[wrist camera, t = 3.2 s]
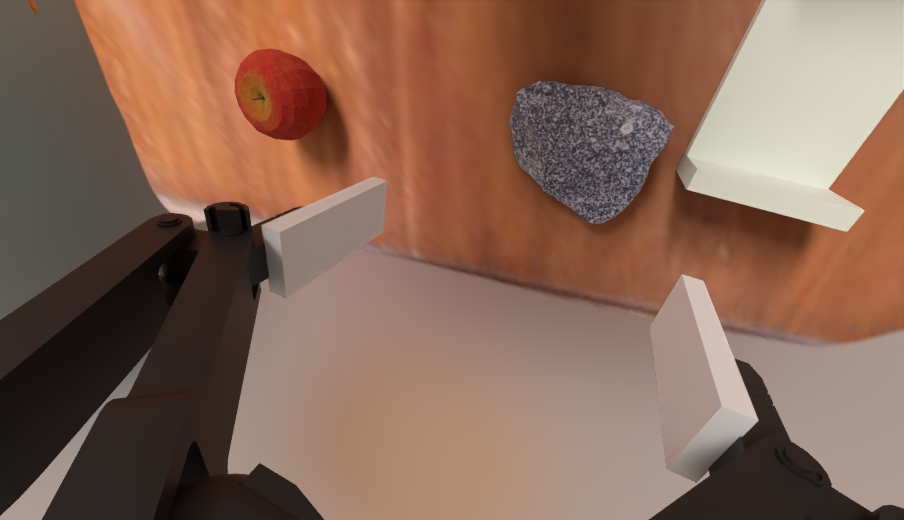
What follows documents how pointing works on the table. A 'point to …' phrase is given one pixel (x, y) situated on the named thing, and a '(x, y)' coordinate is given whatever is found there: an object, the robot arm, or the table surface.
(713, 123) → the u rest
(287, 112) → the apple
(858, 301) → the table surface
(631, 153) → the rock
